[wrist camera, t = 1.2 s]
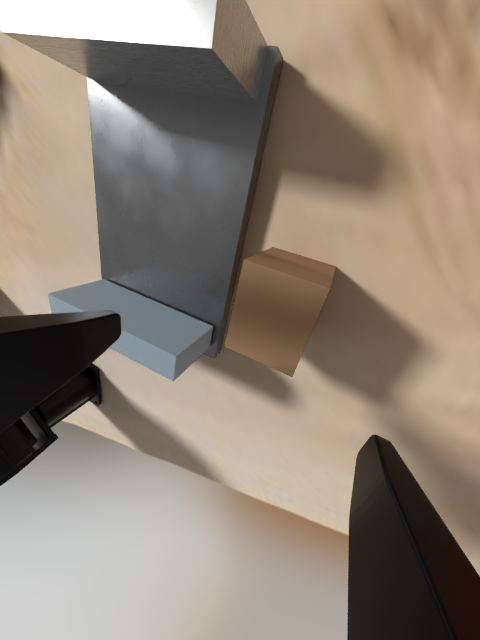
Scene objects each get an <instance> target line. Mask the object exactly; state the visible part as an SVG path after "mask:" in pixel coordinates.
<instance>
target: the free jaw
mask: <svg viewBox="0 0 480 640" xmlns="http://www.w3.org/2000/svg"><path fill="white" fill-rule="evenodd" d="M48 296H49V301H50V306H51V311H52V314H55V313H71V312H86V311H102V310H111V311H113V312H116V313H118V314H119V315H120V317H121V336H120V338H119V339H118V340H117V341H116V342H115V343H113V344H112V345H111V346H110V347H109V348H111V349H113V350H115V351H117V352H119V353H121V354H123V355H124V356H126V357H128V358H130V359H132V360H134V361H136V362H138V363H140V364H142V365H143V366H145V367H147V368H149V369H151V370H153V371H155V372H157V373H159V374H161V375H162V376H164V377H166V378H168V379H170V380H172V381H174V380H175V379H176V378H177V377H179V376H180V375H181V374H182V373H183V372H184V371H185V370H186V369H187V368H188V367H189V366H190V365H191V364H192V363H194V362H195V361H196V360H197V359H198V358H199V357H200V356H201V355H202V354H203V353H204V352H205V351H206V350H207V349H208V348H209V347H210V342H211V336H212V331H213V326H211V325H209V324H207V323H205V322H202V321H200V320H198V319H195V318H193V317H191V316H188V315H186V314H184V313H181V312H179V311H177V310H174V309H172V308H170V307H167V306H165V305H163V304H160V303H158V302H156V301H153V300H151V299H149V298H146V297H144V296H142V295H139V294H137V293H135V292H132V291H130V290H128V289H125V288H123V287H121V286H118V285H116V284H114V283H111V282H109V281H107V280H105V279H103V280H99V281H95V282H91V283H88V284H84V285H80V286H76V287H72V288H68V289H64V290H60V291H57V292H53V293H49V294H48Z"/></svg>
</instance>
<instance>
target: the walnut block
mask: <svg viewBox="0 0 480 640" xmlns="http://www.w3.org/2000/svg"><path fill="white" fill-rule="evenodd" d="M335 269H336V266H333V265H330V264H326V263H323V262H320V261H317V260H313V259H310V258H307V257H304V256H300V255H297V254H294V253H290V252H287V251H284V250H281V249H277V248H274V247H272V248H270V249H268V250H265V251H263V252H260V253H258V254H255V255H253V256H251V257H248V258H246V259H244V260H243V265H242V269H241V274H240V278H239V282H238V287H237V291H236V296H235V300H234V305H233V309H232V314H231V318H230V323H229V327H228V332H227V336H226V341H225V345H224V347H226V348H228V349H231V350H233V351H235V352H237V353H240V354H242V355H244V356H246V357H249V358H251V359H253V360H255V361H257V362H260V363H262V364H264V365H266V366H269V367H271V368H273V369H275V370H278V371H280V372H282V373H284V374H286V375H289V376H291V377H292V376H293V374H294V372H295V369H296V367H297V365H298V362H299V360H300V358H301V355H302V353H303V351H304V348H305V346H306V344H307V341H308V339H309V337H310V334H311V332H312V330H313V328H314V325H315V323H316V321H317V318H318V316H319V314H320V311H321V309H322V307H323V304H324V302H325V300H326V297H327V295H328V293H329V290H330V288H331V284H332V280H333V277H334V273H335Z"/></svg>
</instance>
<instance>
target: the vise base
mask: <svg viewBox="0 0 480 640" xmlns="http://www.w3.org/2000/svg"><path fill="white" fill-rule="evenodd" d="M0 26H1V31H2V32H3V33H5V34H6V35H8V36H10V37H12V38H14V39H16V40H18V41H20V42H22V43H24V44H25V45H27V46H29V47H31V48H33V49H35V50H37V51H39V52H41V53H42V54H44V55H46V56H48V57H50V58H52V59H54V60H56V61H58V62H60V63H61V64H63V65H65V66H67V67H69V68H71V69H73V70H75V71H77V72H79V73H80V74H82V75H84V76H86V77H87V85H88V98H89V112H90V125H91V139H92V152H93V166H94V179H95V193H96V206H97V220H98V233H99V247H100V260H101V274H102V280H103V279H105V280H107V281H109V282H111V283H114V284H116V285H118V286H121V287H123V288H125V289H128V290H130V291H132V292H135V293H137V294H139V295H142V296H144V297H146V298H149V299H151V300H153V301H156V302H158V303H160V304H163V305H165V306H167V307H170V308H172V309H174V310H177V311H179V312H181V313H184V314H186V315H188V316H191V317H193V318H195V319H198V320H200V321H202V322H205V323H207V324H209V325H211V326H213V331H212V336H211V342H210V347H209V348H208V349H207V350H206V351H205V352H204V353H203V354H205V355H207V356H210V357H212V358H215V357H216V356H217V355H218V354H219V353H220V350H221V345H222V340H223V336H224V331H225V327H226V322H227V317H228V313H229V308H230V303H231V299H232V294H233V290H234V285H235V280H236V276H237V271H238V266H239V262H240V257H241V253H242V248H243V243H244V239H245V234H246V229H247V225H248V220H249V216H250V211H251V206H252V202H253V197H254V193H255V188H256V183H257V179H258V174H259V169H260V165H261V160H262V156H263V151H264V146H265V142H266V137H267V132H268V128H269V123H270V119H271V114H272V109H273V105H274V100H275V95H276V91H277V86H278V82H279V77H280V72H281V68H282V63H283V57H282V55H281V52H280V50H279V48H278V47H276V46H267V44H266V41H265V39H264V37H263V35H262V33H261V31H260V29H259V27H258V25H257V23H256V21H255V19H254V17H253V15H252V13H251V11H250V9H249V6H248V4H247V2H246V0H0Z"/></svg>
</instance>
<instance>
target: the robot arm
mask: <svg viewBox="0 0 480 640" xmlns="http://www.w3.org/2000/svg"><path fill="white" fill-rule="evenodd" d="M120 336H121V317H120V315H119V314H118V313H116V312H113V311H111V310H102V311H86V312H71V313H55V314H39V315H24V316H8V317H0V486H1V485H2V484H3V483H5V482H6V481H8V480H9V479H11V478H12V477H13V476H14V475H16V474H17V473H18V472H19V471H21V470H22V469H23V468H24V467H25V466H27V465H28V464H29V463H30V462H31V461H32V460H34V459H35V458H36V457H37V456H38V455H39V454H40V453H41V452H43V451H44V450H45V449H46V448H47V447H48V446H49V445H51V444H52V443H53V442H54V441H55V440H57V438H58V436H57V435H56V434H54V433H53V431H52V430H51V429H50V428H51V427H53V426H54V425H56V424H57V423H58V422H60V421H61V420H63V419H64V418H66V417H67V416H68V415H70V414H71V413H73V412H74V411H75V410H77V409H78V408H80V407H81V406H82V405H84V404H85V403H87V402H88V401H90V402H92V403H93V404H95V405H97V406H99V405H100V404H101V403H102V402H101V392H100V383H99V373H98V369H97V368H96V367H95V366H93V365H92V364H91V363H92V362H94V361H95V360H96V359H97V358H98V357H99V356H100V355H101V354H102V353H103V352H105V351H106V350H107V349H108V348H109V347H110V346H111V345H112V344H113V343H115V342H116V341H117V340H118V339H119V338H120ZM348 574H349V575H348V640H480V576H479V575H478V573H477V572H476V570H475V569H474V567H473V566H472V564H471V563H470V561H469V560H468V558H467V557H466V555H465V554H464V552H463V551H462V549H461V547H460V546H459V544H458V543H457V541H456V540H455V538H454V537H453V535H452V534H451V532H450V531H449V529H448V528H447V526H446V525H445V523H444V522H443V520H442V519H441V517H440V516H439V514H438V513H437V511H436V510H435V508H434V507H433V505H432V504H431V502H430V501H429V499H428V498H427V496H426V495H425V493H424V492H423V490H422V489H421V487H420V485H419V484H418V482H417V481H416V479H415V478H414V476H413V475H412V473H411V472H410V470H409V469H408V467H407V466H406V464H405V463H404V461H403V460H402V458H401V457H400V455H399V454H398V452H397V451H396V449H395V448H394V446H393V445H392V443H391V442H390V441H388V440H386V439H384V438H382V437H380V436H378V435H372V436H371V437H370V438H369V439H368V440H367V442H366V443H365V444H364V446H363V447H362V448H361V449H360V451H359V453H358V455H357V459H356V467H355V475H354V483H353V491H352V498H351V506H350V516H349V572H348Z"/></svg>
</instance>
